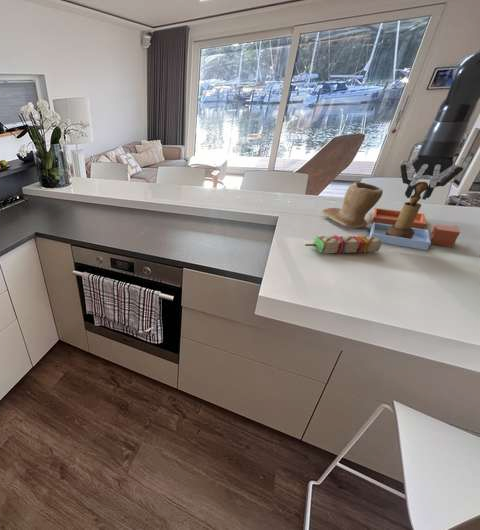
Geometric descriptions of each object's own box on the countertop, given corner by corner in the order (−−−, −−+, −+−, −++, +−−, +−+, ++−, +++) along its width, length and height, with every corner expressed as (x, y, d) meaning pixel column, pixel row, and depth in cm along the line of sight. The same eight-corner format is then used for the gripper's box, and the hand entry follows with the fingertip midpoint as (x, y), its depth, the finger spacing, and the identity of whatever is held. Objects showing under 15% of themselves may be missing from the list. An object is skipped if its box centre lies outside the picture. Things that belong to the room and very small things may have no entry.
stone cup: (377, 229, 104) (394, 187, 96) (343, 230, 104) (357, 190, 97) (349, 214, 117) (362, 177, 109) (319, 216, 117) (330, 179, 110)
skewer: (366, 246, 94) (372, 232, 91) (380, 255, 88) (386, 240, 86) (299, 247, 96) (302, 233, 94) (307, 256, 91) (311, 242, 88)
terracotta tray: (421, 220, 107) (424, 213, 106) (423, 231, 100) (426, 224, 98) (372, 214, 115) (375, 208, 114) (371, 223, 108) (373, 217, 106)
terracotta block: (449, 241, 93) (457, 226, 90) (451, 247, 89) (460, 232, 87) (428, 237, 95) (435, 223, 93) (429, 243, 92) (437, 229, 90)
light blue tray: (424, 237, 96) (428, 230, 95) (427, 250, 89) (431, 242, 87) (370, 228, 104) (373, 222, 103) (369, 240, 97) (371, 233, 95)
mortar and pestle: (380, 234, 98) (403, 181, 89) (393, 230, 99) (416, 178, 90) (403, 241, 92) (429, 186, 83) (416, 237, 94) (443, 182, 85)
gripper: (409, 139, 82) (386, 198, 91) (483, 140, 74) (449, 204, 83) (408, 136, 87) (386, 192, 96) (477, 136, 79) (446, 197, 88)
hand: (415, 197), depth 89 cm, fingers closed on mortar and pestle, 3 cm apart
